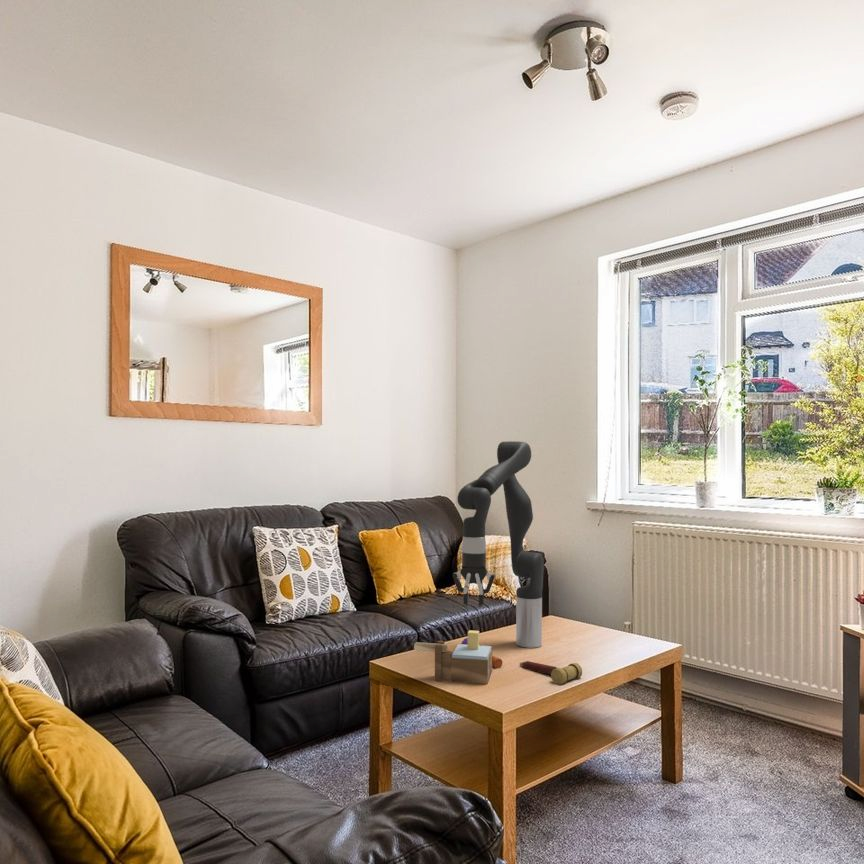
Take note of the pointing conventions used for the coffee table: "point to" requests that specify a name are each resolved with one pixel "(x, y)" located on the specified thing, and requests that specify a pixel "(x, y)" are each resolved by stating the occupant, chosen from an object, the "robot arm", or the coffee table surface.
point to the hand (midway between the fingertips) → (473, 605)
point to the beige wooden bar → (429, 646)
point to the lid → (472, 648)
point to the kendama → (495, 661)
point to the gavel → (556, 671)
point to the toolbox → (461, 667)
